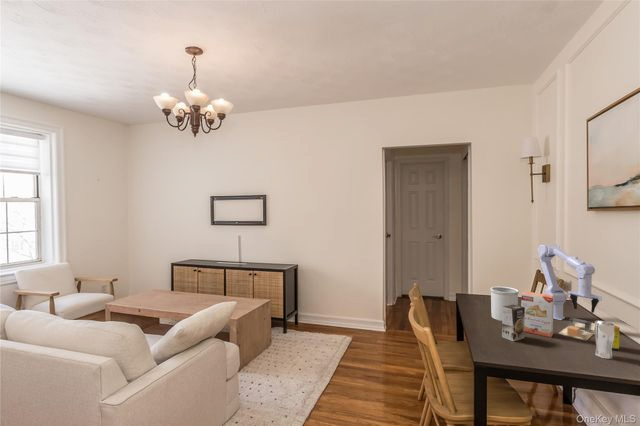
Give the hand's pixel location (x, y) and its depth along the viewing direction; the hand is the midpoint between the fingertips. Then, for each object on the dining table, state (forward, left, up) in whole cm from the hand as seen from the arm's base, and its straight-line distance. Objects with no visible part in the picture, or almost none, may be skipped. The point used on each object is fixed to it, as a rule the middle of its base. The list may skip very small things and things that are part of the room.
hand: (584, 310), depth 185 cm
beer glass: (+15, -36, -10) cm, 40 cm away
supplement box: (+14, -22, -10) cm, 28 cm away
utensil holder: (-35, -18, -10) cm, 40 cm away
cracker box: (-14, -29, -10) cm, 33 cm away
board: (0, -4, -10) cm, 11 cm away
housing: (-1, -5, -10) cm, 11 cm away
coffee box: (-19, -46, -10) cm, 50 cm away
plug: (-1, -13, -9) cm, 16 cm away
